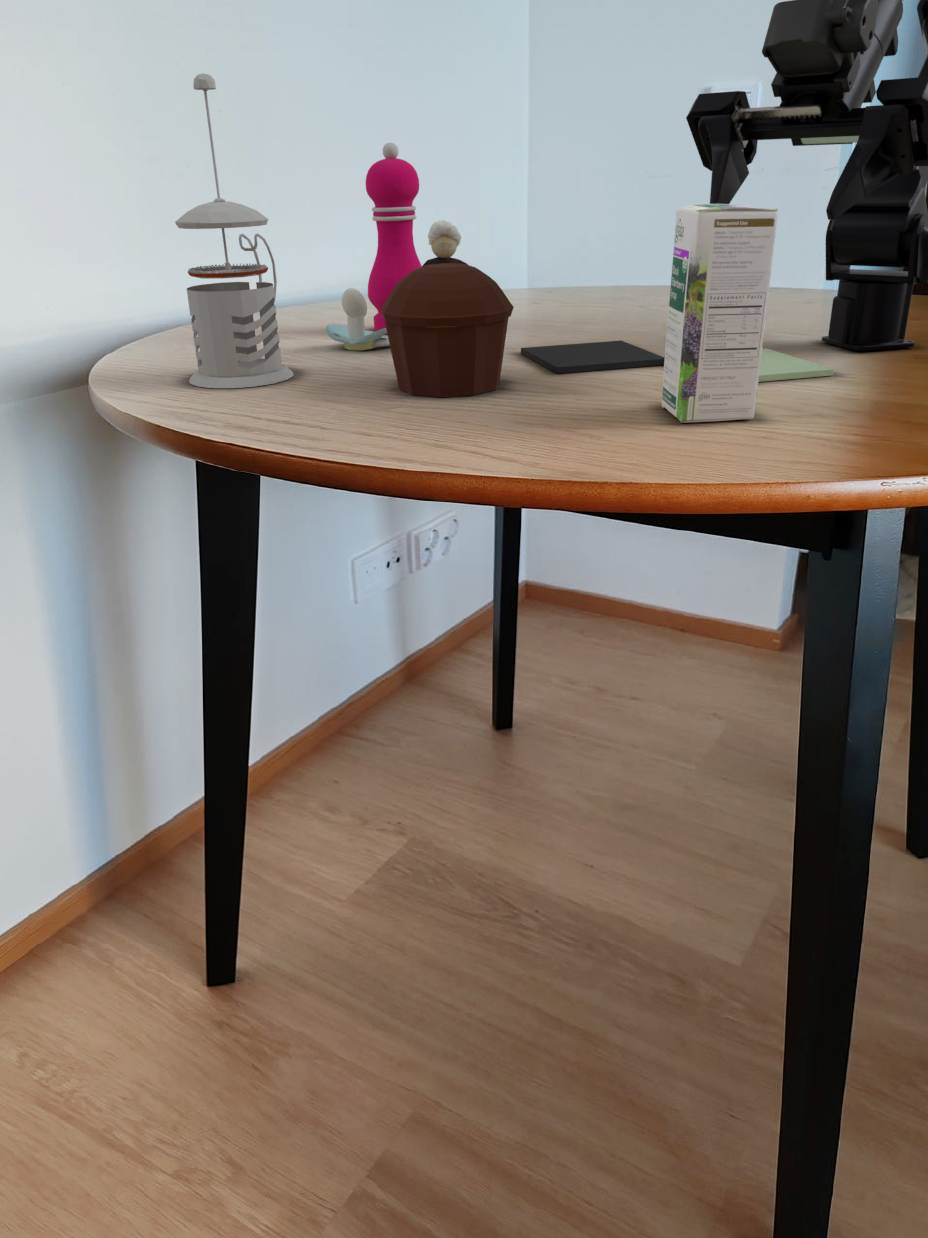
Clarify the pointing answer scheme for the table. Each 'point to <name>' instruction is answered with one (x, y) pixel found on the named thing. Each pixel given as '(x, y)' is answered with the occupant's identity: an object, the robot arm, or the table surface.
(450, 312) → the muffin
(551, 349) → the charcoal mat
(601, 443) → the table surface
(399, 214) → the pepper mill
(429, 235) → the grandmother figurine
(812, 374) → the sage mat
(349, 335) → the pacifier
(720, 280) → the syrup box
